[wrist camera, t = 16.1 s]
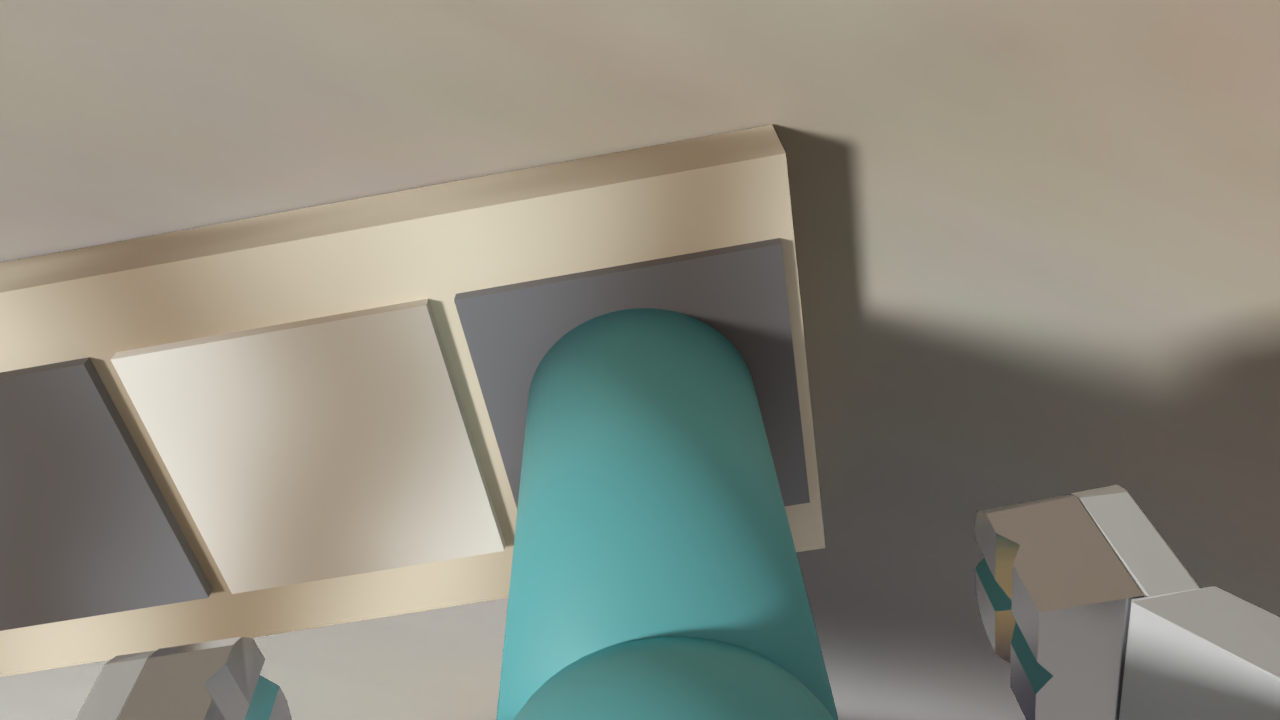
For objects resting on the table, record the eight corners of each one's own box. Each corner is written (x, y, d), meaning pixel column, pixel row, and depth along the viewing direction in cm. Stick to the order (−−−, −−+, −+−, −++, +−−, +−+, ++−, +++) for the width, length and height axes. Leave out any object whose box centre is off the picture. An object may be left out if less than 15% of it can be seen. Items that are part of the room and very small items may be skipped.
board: (-244, 670, 19) (-299, 731, 18) (-526, 356, 16) (-618, 407, 14) (812, 502, 18) (827, 556, 17) (772, 124, 14) (788, 158, 13)
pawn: (534, 510, 16) (483, 1178, 9) (507, 310, 14) (412, 937, 7) (760, 495, 16) (908, 1146, 9) (762, 293, 14) (952, 900, 7)
